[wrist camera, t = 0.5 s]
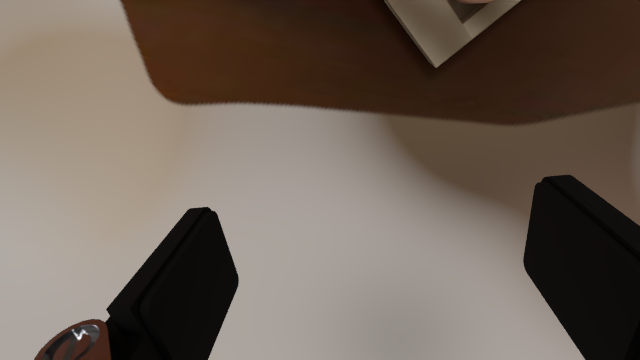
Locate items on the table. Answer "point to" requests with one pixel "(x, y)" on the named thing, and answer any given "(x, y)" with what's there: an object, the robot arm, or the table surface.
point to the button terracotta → (473, 1)
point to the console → (445, 23)
